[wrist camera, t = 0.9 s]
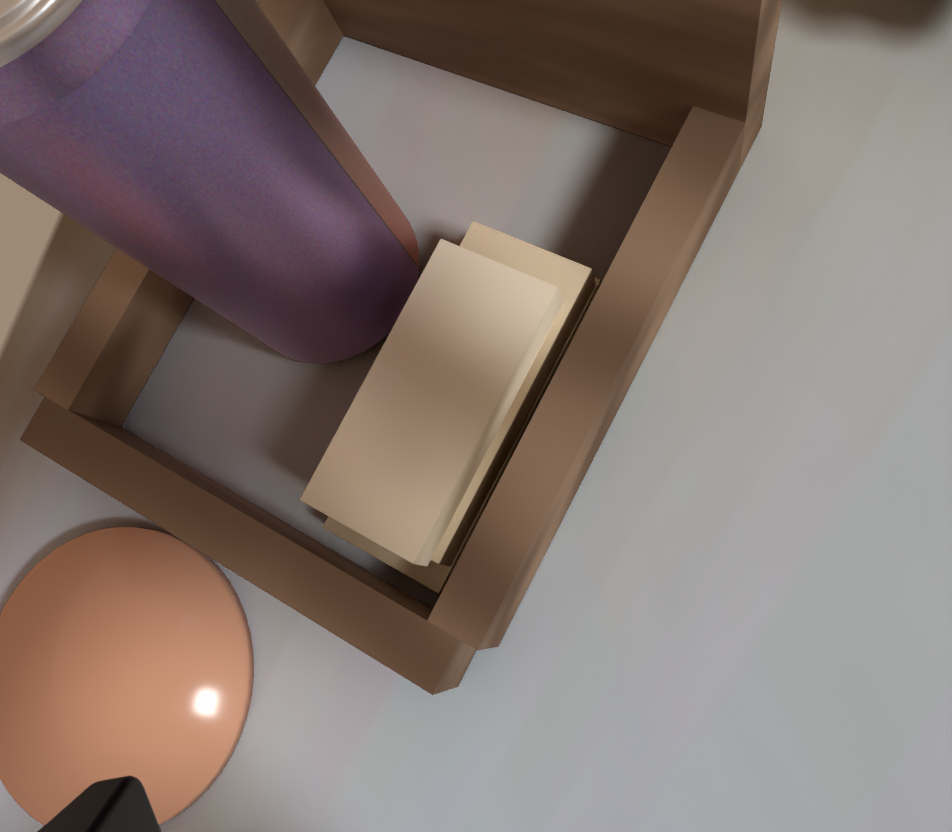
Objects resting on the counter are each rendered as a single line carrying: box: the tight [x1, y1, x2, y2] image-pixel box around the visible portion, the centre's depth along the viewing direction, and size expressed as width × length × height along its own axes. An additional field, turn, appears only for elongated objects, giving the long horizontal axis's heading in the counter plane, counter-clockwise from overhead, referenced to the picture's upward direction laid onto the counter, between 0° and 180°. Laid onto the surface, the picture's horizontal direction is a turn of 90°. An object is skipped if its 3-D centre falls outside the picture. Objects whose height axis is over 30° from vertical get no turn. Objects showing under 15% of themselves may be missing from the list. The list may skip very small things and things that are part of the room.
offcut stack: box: [300, 221, 601, 594], centre depth 24 cm, size 10×4×4 cm, turn 152°
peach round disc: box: [0, 527, 254, 826], centre depth 25 cm, size 9×9×1 cm
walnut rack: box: [20, 0, 782, 695], centre depth 22 cm, size 18×16×9 cm
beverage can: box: [0, 0, 419, 363], centre depth 20 cm, size 6×6×15 cm
